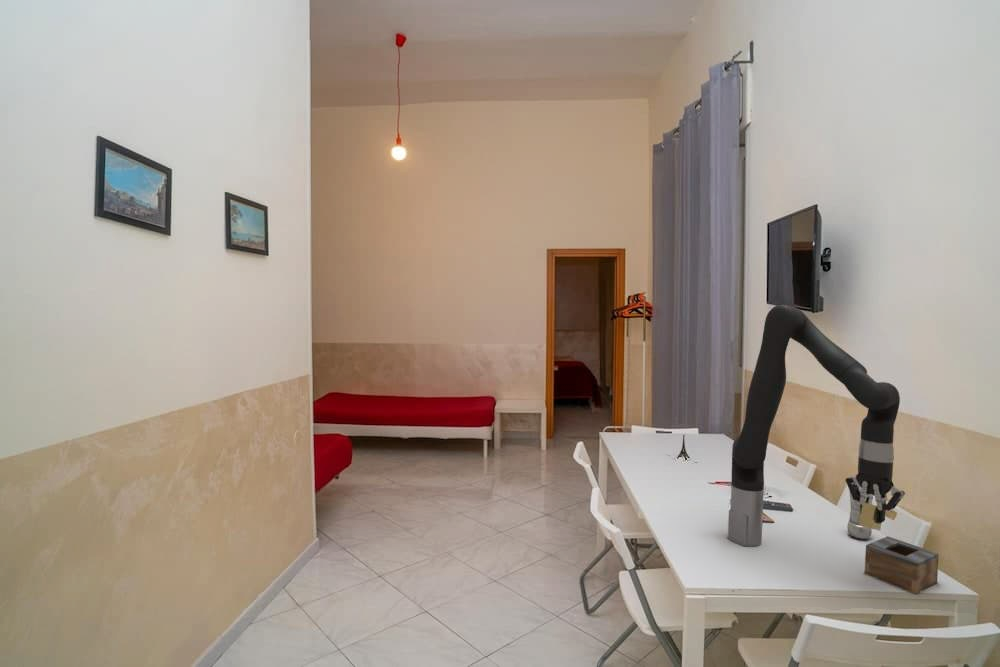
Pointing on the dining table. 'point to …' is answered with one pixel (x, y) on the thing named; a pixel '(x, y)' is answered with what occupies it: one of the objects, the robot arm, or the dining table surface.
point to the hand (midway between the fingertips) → (872, 520)
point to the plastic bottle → (857, 519)
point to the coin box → (901, 564)
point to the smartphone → (767, 519)
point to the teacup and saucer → (765, 489)
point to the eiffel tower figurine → (684, 450)
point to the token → (869, 516)
